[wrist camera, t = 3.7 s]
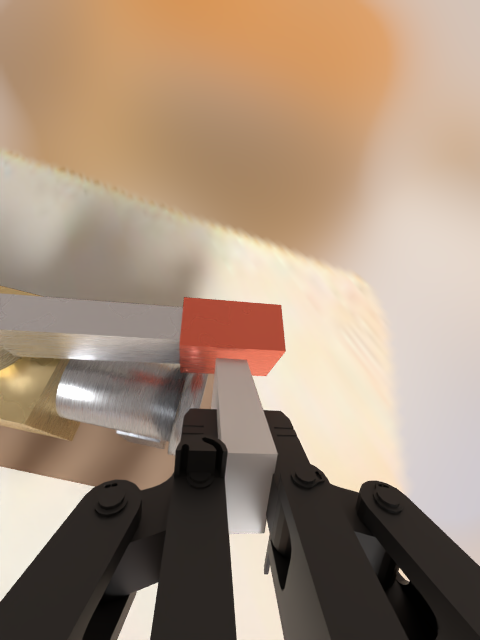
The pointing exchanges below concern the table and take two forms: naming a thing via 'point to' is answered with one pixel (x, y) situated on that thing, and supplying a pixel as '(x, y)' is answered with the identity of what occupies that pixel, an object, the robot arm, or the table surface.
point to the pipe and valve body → (98, 397)
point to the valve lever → (142, 332)
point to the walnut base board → (90, 454)
